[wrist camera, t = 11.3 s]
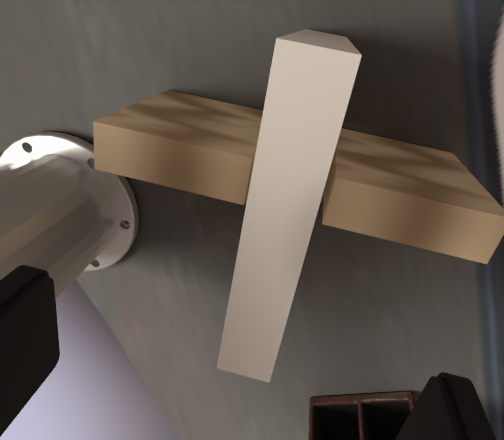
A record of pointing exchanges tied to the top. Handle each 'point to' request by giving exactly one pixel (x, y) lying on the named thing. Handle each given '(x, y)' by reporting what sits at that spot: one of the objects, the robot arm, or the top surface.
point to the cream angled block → (285, 192)
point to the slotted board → (338, 181)
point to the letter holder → (359, 415)
